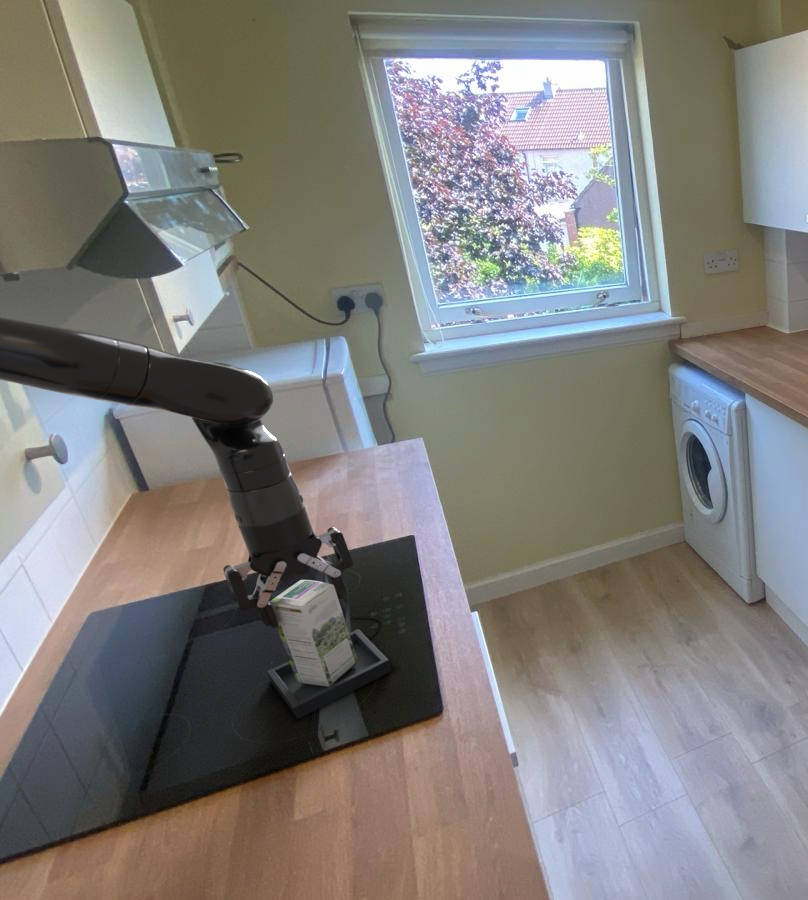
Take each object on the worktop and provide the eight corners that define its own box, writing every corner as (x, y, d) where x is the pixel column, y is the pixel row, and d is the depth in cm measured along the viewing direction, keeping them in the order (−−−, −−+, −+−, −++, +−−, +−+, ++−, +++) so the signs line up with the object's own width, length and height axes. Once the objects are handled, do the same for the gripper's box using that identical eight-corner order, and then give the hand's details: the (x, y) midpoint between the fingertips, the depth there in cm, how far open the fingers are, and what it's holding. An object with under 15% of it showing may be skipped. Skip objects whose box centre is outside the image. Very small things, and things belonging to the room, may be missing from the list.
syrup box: (327, 657, 112) (298, 577, 106) (360, 662, 110) (333, 581, 104) (296, 683, 106) (264, 601, 100) (331, 688, 105) (300, 605, 99)
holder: (298, 719, 101) (293, 707, 100) (271, 682, 108) (266, 671, 107) (392, 671, 110) (388, 659, 109) (361, 639, 117) (358, 628, 116)
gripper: (319, 483, 104) (350, 579, 111) (197, 522, 95) (240, 625, 101) (339, 498, 100) (370, 597, 107) (213, 541, 90) (256, 647, 97)
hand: (306, 610), depth 104 cm, fingers closed on syrup box, 7 cm apart
